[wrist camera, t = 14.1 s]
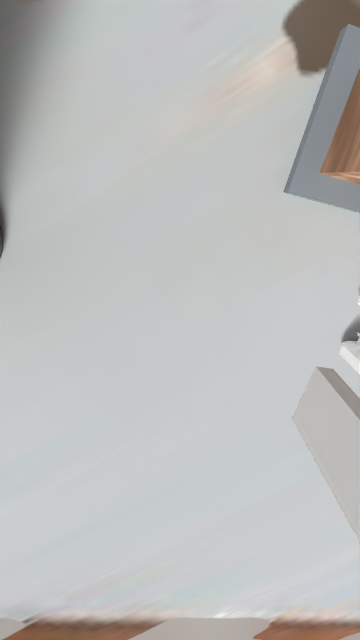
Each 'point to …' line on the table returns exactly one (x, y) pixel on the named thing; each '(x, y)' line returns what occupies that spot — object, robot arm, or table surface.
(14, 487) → the table surface
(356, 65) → the slate board
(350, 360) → the cable organizer
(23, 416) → the table surface
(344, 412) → the robot arm
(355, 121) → the open wooden box
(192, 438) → the table surface
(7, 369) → the table surface
